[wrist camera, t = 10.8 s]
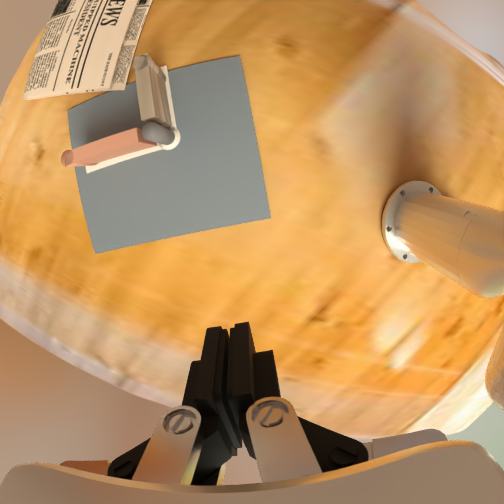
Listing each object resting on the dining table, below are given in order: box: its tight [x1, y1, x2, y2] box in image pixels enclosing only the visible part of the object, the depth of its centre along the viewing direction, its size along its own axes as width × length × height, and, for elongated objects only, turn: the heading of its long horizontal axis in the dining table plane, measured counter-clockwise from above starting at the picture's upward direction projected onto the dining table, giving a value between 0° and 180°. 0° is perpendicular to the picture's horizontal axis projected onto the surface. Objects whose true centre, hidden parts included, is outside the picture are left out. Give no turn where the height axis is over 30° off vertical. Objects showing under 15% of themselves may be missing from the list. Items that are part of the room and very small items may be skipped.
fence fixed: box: [133, 53, 172, 127], centre depth 28 cm, size 2×8×8 cm, turn 10°
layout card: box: [68, 56, 271, 254], centre depth 33 cm, size 26×24×1 cm
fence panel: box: [61, 122, 175, 167], centre depth 29 cm, size 13×2×7 cm, turn 98°
